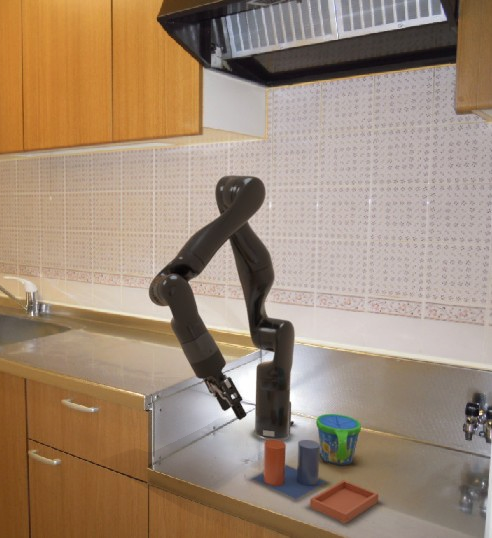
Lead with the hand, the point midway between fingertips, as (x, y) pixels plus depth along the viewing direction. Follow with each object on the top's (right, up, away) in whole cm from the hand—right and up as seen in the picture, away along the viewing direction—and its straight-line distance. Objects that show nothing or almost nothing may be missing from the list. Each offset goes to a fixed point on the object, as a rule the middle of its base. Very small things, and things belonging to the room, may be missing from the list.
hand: (234, 413), depth 132 cm
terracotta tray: (+22, -17, -9) cm, 29 cm away
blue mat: (+13, -16, +1) cm, 21 cm away
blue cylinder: (+17, -16, +1) cm, 23 cm away
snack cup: (+28, -15, +13) cm, 34 cm away
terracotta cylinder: (+9, -16, +1) cm, 19 cm away
